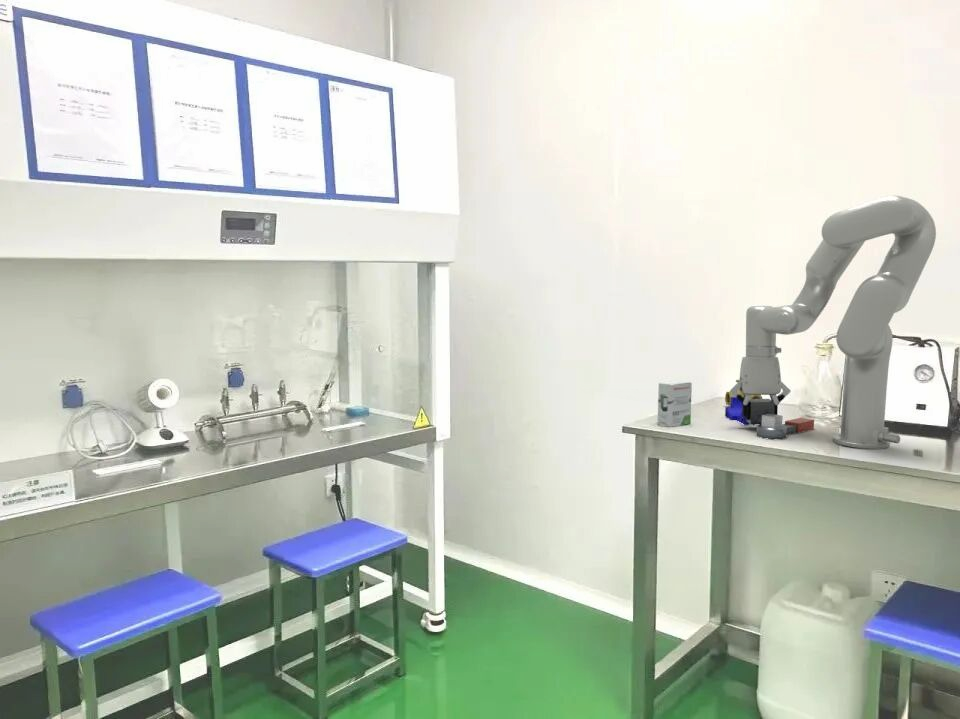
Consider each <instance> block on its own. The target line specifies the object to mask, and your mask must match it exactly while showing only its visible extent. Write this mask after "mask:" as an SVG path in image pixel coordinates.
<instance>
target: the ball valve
mask: <svg viewBox="0 0 960 719" xmlns="http://www.w3.org/2000/svg"><path fill="white" fill-rule="evenodd" d="M735 382H736V384H737V383H738V382H739V379H736V380H735ZM737 392H738V393H739V394H740V395H741V396H742V397H743V395H744V393H743V392H741V391H740V390H738V391H737ZM762 396H763V395H751V397H750V399H763V397H762ZM731 397H735V396H734V395H733V394H732V393H731V392H730V391H726V393H725V396H724V402H725V405H726V406H727V407H731Z"/></svg>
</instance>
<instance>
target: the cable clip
mask: <svg viewBox="0 0 960 719" xmlns="http://www.w3.org/2000/svg"><path fill="white" fill-rule="evenodd" d="M724 408H725V410H724V416H726V417H725V418H727V419H728V418H729V419H728V420H730V419H731V420H737V421H736V422H738V421H739V422H738V423H740V422H741V423H743V424H744V425H743V424H742V425H743V426H750V425H749V423H748V422H747V421H746V419H745V417H744V416H743V414H742V409H743V404H742V403H741V402H740V401H739V400H738V399H737V398H736V397H731V406H725V407H724ZM731 420H730V421H731ZM741 423H740V424H741ZM752 426H756V424H753V425H752Z"/></svg>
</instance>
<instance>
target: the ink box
mask: <svg viewBox="0 0 960 719" xmlns="http://www.w3.org/2000/svg"><path fill="white" fill-rule="evenodd" d="M692 386H693V383H692V382H691V381H683V380H675V381H673V380H672V381H666V382H658V398H657V399H658V400H657V425H661V426H663V425H664V427H668V428H673V427H672V426H674V427H678V426H677V425H679V426H684V425H683V424H685V425H690V424H691V422H692V421H691V418H692V417H691V415H692V413H691V412H692V393H693V392H692V390H693V389H692V388H693V387H692ZM689 423H690V424H689Z"/></svg>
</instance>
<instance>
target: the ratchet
mask: <svg viewBox="0 0 960 719" xmlns="http://www.w3.org/2000/svg"><path fill="white" fill-rule="evenodd" d="M783 420H784V419H783V415H781V414H780V415H779V414H777V415H775V414H766V415H762V424H756V435H757V436H756V437H758V436H759V437H758V438H760V437H762V438H761V439H764V438H768V439H767V440H774V439H780V440H785V438H786V439H787V436H789V434H790V435H794V434H799V432H800V433H804V432H803V431H805V432H808V430H809V431H813V430H815V419H811V418H806V417H798V418H792V419H788V420H785V421H784V423H783ZM793 433H794V434H793Z"/></svg>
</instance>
